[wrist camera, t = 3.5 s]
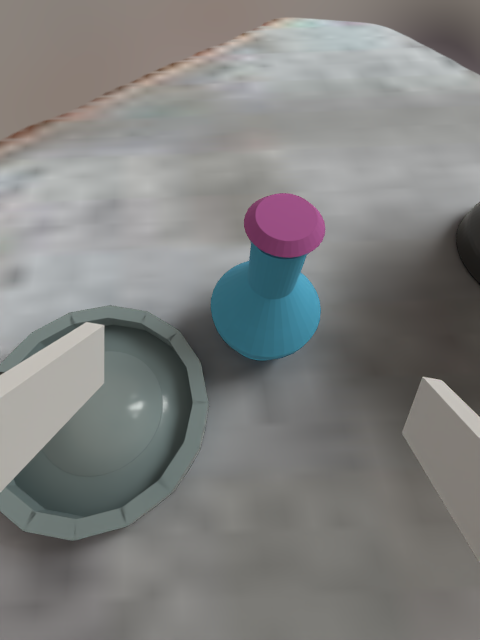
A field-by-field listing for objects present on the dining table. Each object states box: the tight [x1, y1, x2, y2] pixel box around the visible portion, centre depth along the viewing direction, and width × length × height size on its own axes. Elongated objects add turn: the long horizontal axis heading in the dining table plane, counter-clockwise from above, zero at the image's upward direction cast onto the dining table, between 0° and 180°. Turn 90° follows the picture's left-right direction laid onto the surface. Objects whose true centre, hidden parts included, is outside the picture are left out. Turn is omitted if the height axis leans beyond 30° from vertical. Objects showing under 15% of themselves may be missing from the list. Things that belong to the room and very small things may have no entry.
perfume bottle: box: [211, 193, 325, 360], centre depth 25 cm, size 9×9×15 cm
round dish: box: [0, 305, 209, 541], centre depth 26 cm, size 17×17×2 cm
